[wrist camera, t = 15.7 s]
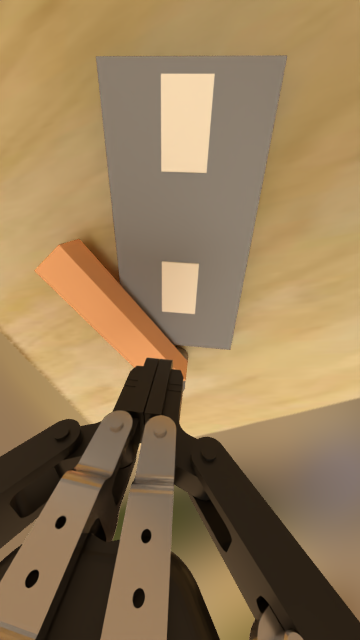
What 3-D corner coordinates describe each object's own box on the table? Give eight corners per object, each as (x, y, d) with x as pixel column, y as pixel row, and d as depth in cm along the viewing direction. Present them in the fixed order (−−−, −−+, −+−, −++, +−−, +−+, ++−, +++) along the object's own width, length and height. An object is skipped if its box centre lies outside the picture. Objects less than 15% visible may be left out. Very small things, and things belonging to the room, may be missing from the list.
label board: (104, 67, 17) (91, 50, 15) (280, 67, 16) (290, 49, 14) (132, 358, 32) (127, 368, 30) (224, 367, 31) (225, 378, 29)
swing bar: (194, 368, 29) (192, 388, 26) (171, 379, 30) (167, 399, 27) (79, 238, 22) (58, 244, 19) (56, 261, 23) (34, 270, 20)
